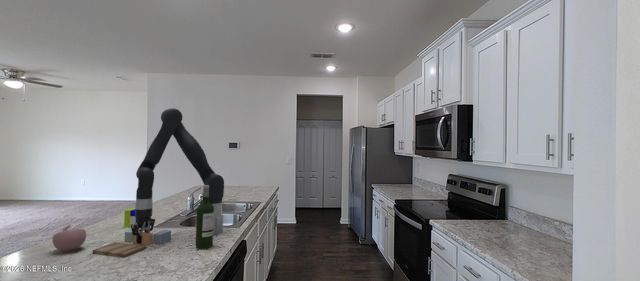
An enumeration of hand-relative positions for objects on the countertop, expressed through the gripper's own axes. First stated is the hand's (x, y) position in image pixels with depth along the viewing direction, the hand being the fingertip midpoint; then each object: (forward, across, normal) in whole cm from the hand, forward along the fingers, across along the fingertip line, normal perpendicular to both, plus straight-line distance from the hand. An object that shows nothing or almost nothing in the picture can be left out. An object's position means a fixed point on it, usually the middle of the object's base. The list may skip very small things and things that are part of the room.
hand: (142, 241), depth 155 cm
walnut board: (+1, -12, +2) cm, 12 cm away
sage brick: (+1, +4, +9) cm, 10 cm away
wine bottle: (+1, +5, -31) cm, 31 cm away
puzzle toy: (+1, +27, +28) cm, 39 cm away
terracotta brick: (+1, 0, 0) cm, 1 cm away
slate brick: (+1, +5, -7) cm, 9 cm away
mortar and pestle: (+1, -18, +23) cm, 29 cm away
